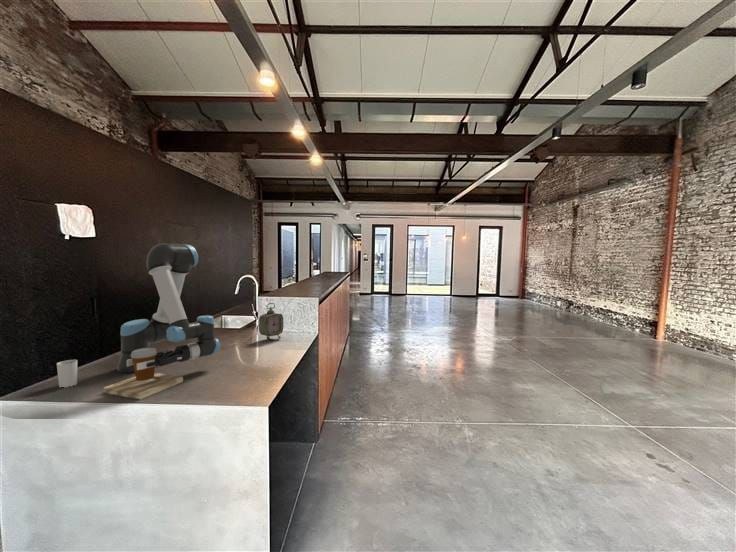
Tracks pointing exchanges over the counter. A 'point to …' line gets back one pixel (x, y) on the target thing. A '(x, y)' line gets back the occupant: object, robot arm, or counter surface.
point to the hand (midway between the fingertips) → (132, 365)
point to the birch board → (143, 386)
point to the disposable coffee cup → (143, 356)
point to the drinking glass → (67, 373)
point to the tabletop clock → (271, 323)
